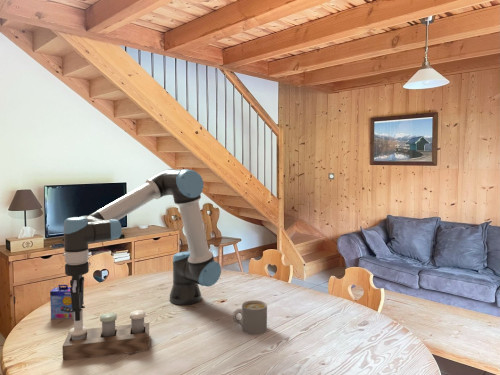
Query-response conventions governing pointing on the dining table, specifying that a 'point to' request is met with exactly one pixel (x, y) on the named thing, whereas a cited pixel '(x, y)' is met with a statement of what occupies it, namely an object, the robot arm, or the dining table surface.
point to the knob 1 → (78, 333)
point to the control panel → (106, 343)
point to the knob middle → (108, 324)
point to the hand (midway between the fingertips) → (78, 328)
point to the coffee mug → (252, 317)
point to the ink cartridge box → (61, 303)
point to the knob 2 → (137, 321)
